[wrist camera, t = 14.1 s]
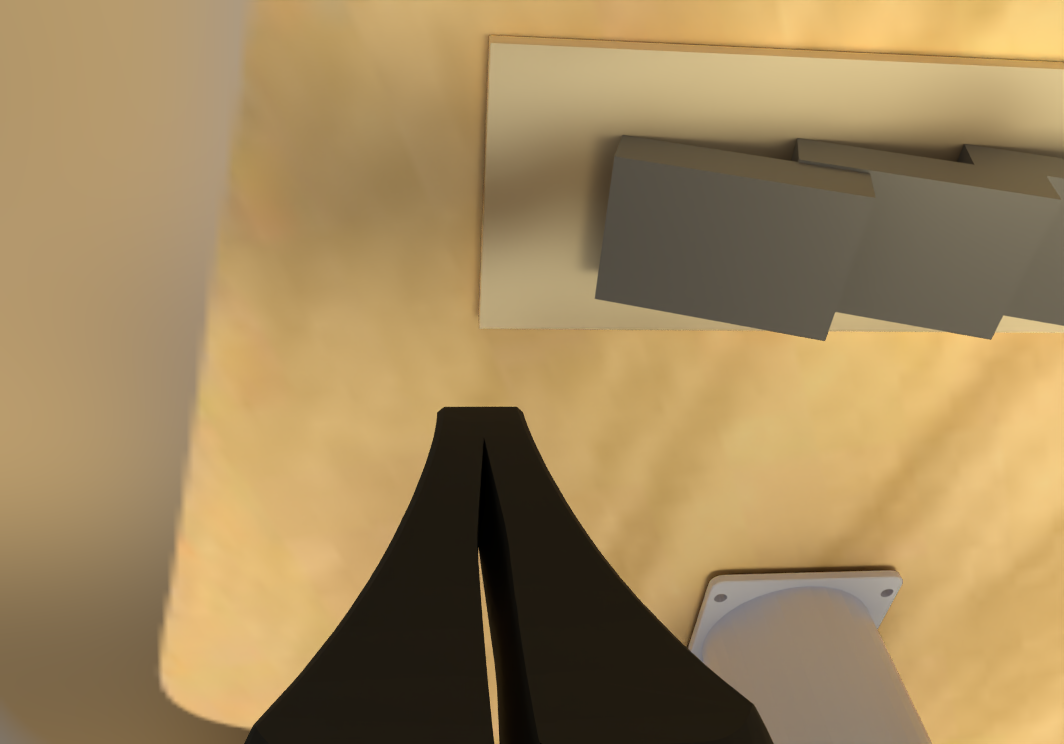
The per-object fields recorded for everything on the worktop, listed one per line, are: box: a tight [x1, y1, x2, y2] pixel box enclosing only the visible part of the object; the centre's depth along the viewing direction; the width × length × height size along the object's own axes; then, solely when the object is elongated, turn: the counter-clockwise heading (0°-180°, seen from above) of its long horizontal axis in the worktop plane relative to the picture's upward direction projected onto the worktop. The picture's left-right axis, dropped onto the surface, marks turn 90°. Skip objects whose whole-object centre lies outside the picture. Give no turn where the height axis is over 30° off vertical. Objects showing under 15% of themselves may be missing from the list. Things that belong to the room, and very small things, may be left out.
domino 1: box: [595, 135, 876, 341], centre depth 21 cm, size 4×1×6 cm
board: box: [479, 35, 1064, 333], centre depth 23 cm, size 8×28×1 cm, turn 86°
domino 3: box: [957, 144, 1064, 326], centre depth 22 cm, size 4×1×6 cm
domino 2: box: [791, 138, 1061, 340], centre depth 21 cm, size 4×1×6 cm
